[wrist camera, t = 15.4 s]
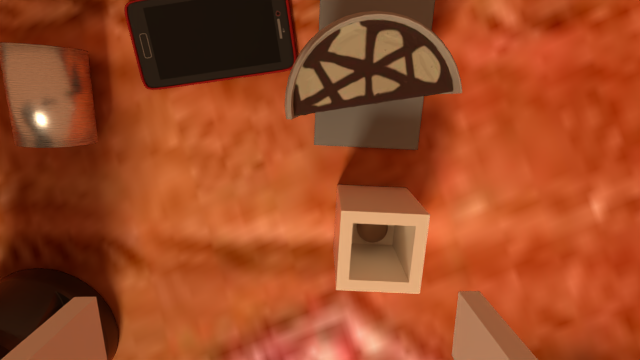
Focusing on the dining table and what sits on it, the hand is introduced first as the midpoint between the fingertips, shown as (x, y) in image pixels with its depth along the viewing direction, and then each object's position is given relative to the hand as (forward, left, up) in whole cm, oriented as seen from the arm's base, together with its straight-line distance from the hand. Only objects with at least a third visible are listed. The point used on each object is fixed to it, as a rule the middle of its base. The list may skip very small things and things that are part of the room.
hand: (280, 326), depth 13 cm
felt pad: (+5, +11, -23) cm, 26 cm away
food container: (+4, +11, -22) cm, 25 cm away
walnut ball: (+6, -4, -20) cm, 22 cm away
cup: (+6, -4, -23) cm, 24 cm away
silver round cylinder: (-23, +7, -23) cm, 33 cm away
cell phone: (-9, +13, -23) cm, 28 cm away
